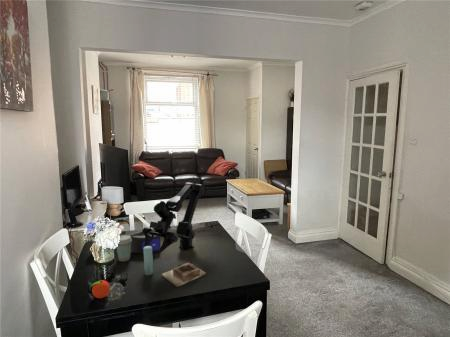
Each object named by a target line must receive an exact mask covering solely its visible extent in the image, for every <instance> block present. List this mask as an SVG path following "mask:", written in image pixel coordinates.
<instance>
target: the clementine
mask: <svg viewBox="0 0 450 337" xmlns="http://www.w3.org/2000/svg"><path fill="white" fill-rule="evenodd" d="M91 287H92V289H91ZM90 289H91V292H92V296H93V297H95V298H97V299H103V298H105V297H107V296H108V294H109V293H110V290H111V285H110V283H109V282H108V281H107V280H103V279H102V280H98V281H95V282H93V283H92V284H91V285H90V286H89V290H90Z"/></svg>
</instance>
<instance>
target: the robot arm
mask: <svg viewBox="0 0 450 337" xmlns="http://www.w3.org/2000/svg"><path fill="white" fill-rule="evenodd" d="M204 192H205V186H204V185H203V184H200V183H194V182H185V184H184V186H183V187H182V188H181V189H180V191H179V192H178V193H177V194H176V195H175V196H173V197H171V198H169V199H168V200H167V201H166V202H165V201H163V200H161V201H159V202H158V203H157V204H155V206H153V211H154V213H155V214H156V215H158V217H159V218H160V220H158V221H157V222H155V221H150V224H149V227H145V226H144V228H142V230H141V232H142V233H143V236H145V246H149V244H150V243H151V241H152V240H153V238H152V237H154V235H155V236H160V238H163V242H162V244H161V245H160V246H161V248H160V250H159V251H158V252H159V253H160V254H161V253H163V251H165V250H166V249H167V248H168V247H170V245H172V244H173V245H174V243H177V242H178V240H179V239H180V240H179V246H178V247H179V248H180V249H182V250H184V251H187V250H190V249H193V248H195V246H194V245H193V240H194V238H196V236H195V235H196V233H195V232H194V230H193V224H192V221H193V219H194V215H195V211H196V208H197V205H198V201H199V199H200V198H201V197H202V196H203V194H204ZM188 196H189V199H188V204H187V206H186V210H185V211H184V212H185V213H184V217H183V219H182V220H181V221H179V222H178V223H177V227H176V234H175V233H174V232H170V231H169V230H171V229H172V227H171V225H172V223H173V221H174V219H175V220H176V219H177V216H176V213H178V212H180V211H181V209H182V207H183V202H184V201H185V200H186V198H187V197H188ZM174 212H175V213H174ZM145 246H144V247H145Z"/></svg>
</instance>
